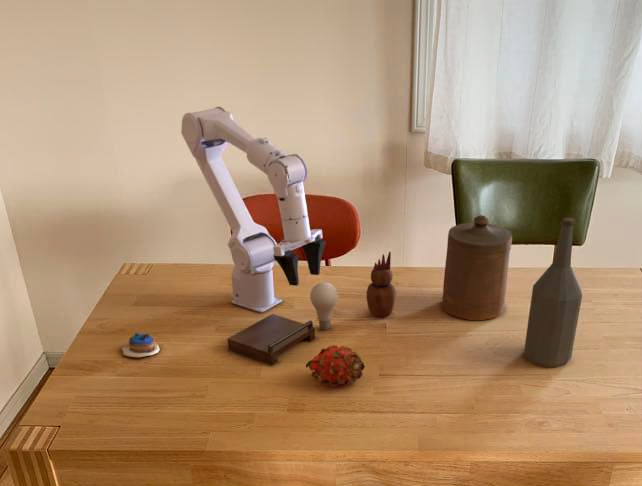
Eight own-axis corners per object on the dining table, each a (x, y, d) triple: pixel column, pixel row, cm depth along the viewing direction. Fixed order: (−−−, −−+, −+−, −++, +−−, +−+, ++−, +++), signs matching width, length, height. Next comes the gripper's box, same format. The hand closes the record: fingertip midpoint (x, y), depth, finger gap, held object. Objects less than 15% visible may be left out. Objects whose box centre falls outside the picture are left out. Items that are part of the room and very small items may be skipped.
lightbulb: (342, 326, 181) (341, 280, 175) (332, 337, 176) (331, 291, 170) (317, 321, 183) (316, 276, 176) (307, 332, 178) (305, 286, 171)
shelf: (228, 350, 171) (226, 331, 168) (273, 324, 181) (271, 307, 178) (271, 365, 166) (270, 346, 163) (315, 338, 176) (314, 320, 173)
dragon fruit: (368, 393, 160) (311, 395, 162) (370, 355, 163) (314, 358, 165) (359, 376, 152) (299, 378, 155) (361, 336, 155) (302, 339, 157)
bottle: (575, 352, 173) (600, 215, 155) (564, 372, 166) (589, 231, 148) (530, 342, 176) (549, 207, 159) (517, 361, 169) (535, 222, 151)
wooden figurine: (396, 309, 189) (398, 248, 180) (394, 320, 184) (395, 258, 175) (368, 308, 189) (368, 246, 180) (365, 318, 184) (365, 256, 175)
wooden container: (514, 304, 193) (525, 214, 179) (486, 326, 182) (496, 232, 169) (460, 289, 199) (467, 201, 186) (430, 310, 189) (436, 218, 176)
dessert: (167, 348, 169) (148, 331, 164) (148, 372, 168) (129, 357, 164) (148, 337, 174) (129, 321, 169) (130, 361, 173) (110, 346, 168)
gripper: (287, 226, 161) (298, 291, 168) (329, 209, 172) (338, 271, 178) (261, 225, 165) (273, 288, 172) (304, 208, 175) (313, 268, 182)
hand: (304, 279), depth 175 cm, fingers open, 7 cm apart
